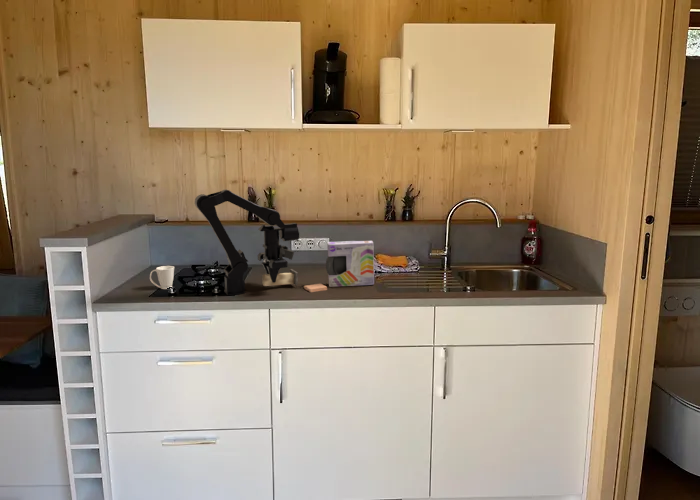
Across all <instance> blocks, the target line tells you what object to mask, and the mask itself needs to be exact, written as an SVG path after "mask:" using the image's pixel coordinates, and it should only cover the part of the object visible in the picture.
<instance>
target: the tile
mask: <svg viewBox="0 0 700 500" xmlns="http://www.w3.org/2000/svg"><path fill="white" fill-rule="evenodd" d="M303 289H304V290H306V291H308V292H309V293H314V292H323V291H328V286H326V285H324V284H323V283H314V284H307V285H304V286H303Z"/></svg>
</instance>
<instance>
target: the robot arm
mask: <svg viewBox="0 0 700 500" xmlns="http://www.w3.org/2000/svg"><path fill="white" fill-rule="evenodd" d="M226 202H228V203H230V204H233V205H235V206H237V207H239V208H241V209H242V210H245V211H247V212H250V213H251V214H253V215H255V217H257V218H258V219H259V220H261V221H262V222H264V223H265V224H267V226H265V224H263V223H262V224H261V226H260V227H259V228H258V230H257V231H260V232H263V244H262V247H263V249H264V252H259V253H258V254H257V260H258V261H260V262H261V261H262V260H263V261H262V262H261V265H262V266H263V268H264V270H265V274H270V277H271V280H272V282H273V283H274V282H276V278H277V275H278V273H279V271H280V269H283V268H289V262H288V260H287V259H289V260H290V261H291V260H293V258H294V255H295V251H293V250H290V249H288V246H286V245H282V244H280V240H282V241H283V242H293V241H299V240H300V232H299V228H298V223H296V222H291V223H284V222H283V221H282V219H281V215H280V213H279V211H278V210H275V209H272V208H269V207H266V206H262V205H259V204H256V203H254V202H252V201H250V200H248V199H246V198H244V197H242V196H241V195H239V194H236V193H234V192H232V191H231V190H230V189H229V190H228V189H223V190H220V191H217V192H212V193H210V194H198V195H197V196H196V197H195V199H194V206H195V207H196V208H197V210H198V211H199V212H200V213H201V214H202V216H203V217H204V218H205V219H206V221H207V222H208V223H209V225H210V227H211V228H212V231H213V232H214V234H215V236H216V238H217V239H218V241H219V243H220V245H221V246H222V248H223V250H224V252H225V255H226V259H227V262H228V264H227V266H225V268H224V269H223V272H224V274H225V276H224V290H223V292H224V293H225V294H226V296H233V295H241V294H242V295H243V294H245V293H246V291H245V290H246V285H245V284H246V283H245V279H244V274H245V273H246V272H247V270H248V267H249V264H248V262H249V260H248V259H247V258H246V257H245V254H244V251H242V249H239V250H237V249H236V247H235V245H234V243H233V242H232V240H231V237H229V234H228V232H227V231H226V229H225V227H224V225H223V224H222V222H221V219H220V218H219V216H218V214H217V213H218V212H217V210H216V206H219V205H220V204H223V203H226ZM274 226H276V227H274ZM284 258H285V259H284Z"/></svg>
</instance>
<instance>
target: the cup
mask: <svg viewBox="0 0 700 500" xmlns="http://www.w3.org/2000/svg"><path fill="white" fill-rule="evenodd" d="M155 268H156V269H153V270H151V271H150V274H149V280H150V282H151V283H152V284H153V285H154V286H156V287H157V288H159V289H161V290H168V289H167V288H169V287H172V288H173V283H174V282H173V281H174V277H175V276H174V274H175V266H173V265H162V266H157V267H155ZM153 272H156V275H157V279H158V283H159V284H160V285H158V284H157V283H156V282H155V281H154V280H153V279H152V274H153Z"/></svg>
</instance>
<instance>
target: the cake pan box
mask: <svg viewBox="0 0 700 500" xmlns="http://www.w3.org/2000/svg"><path fill="white" fill-rule="evenodd" d="M326 248H327V258H326V260H325V269H326V273H327V277H328V279H327V281H328V287H330V288H331V287H332V288H333V287H351V286H352V287H355V286H373V285H375V258H374V257H375V255H374V254H375V253H374V249H375V247H374V241H373V240H345V241H327V247H326Z"/></svg>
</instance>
